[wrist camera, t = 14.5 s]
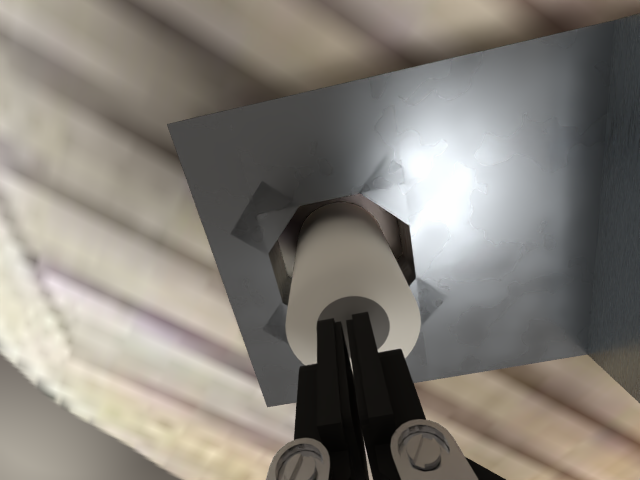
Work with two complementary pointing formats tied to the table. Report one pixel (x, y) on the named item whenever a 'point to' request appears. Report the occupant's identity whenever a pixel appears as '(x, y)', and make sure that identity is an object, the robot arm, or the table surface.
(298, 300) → the bushing
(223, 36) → the table surface
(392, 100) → the jig
